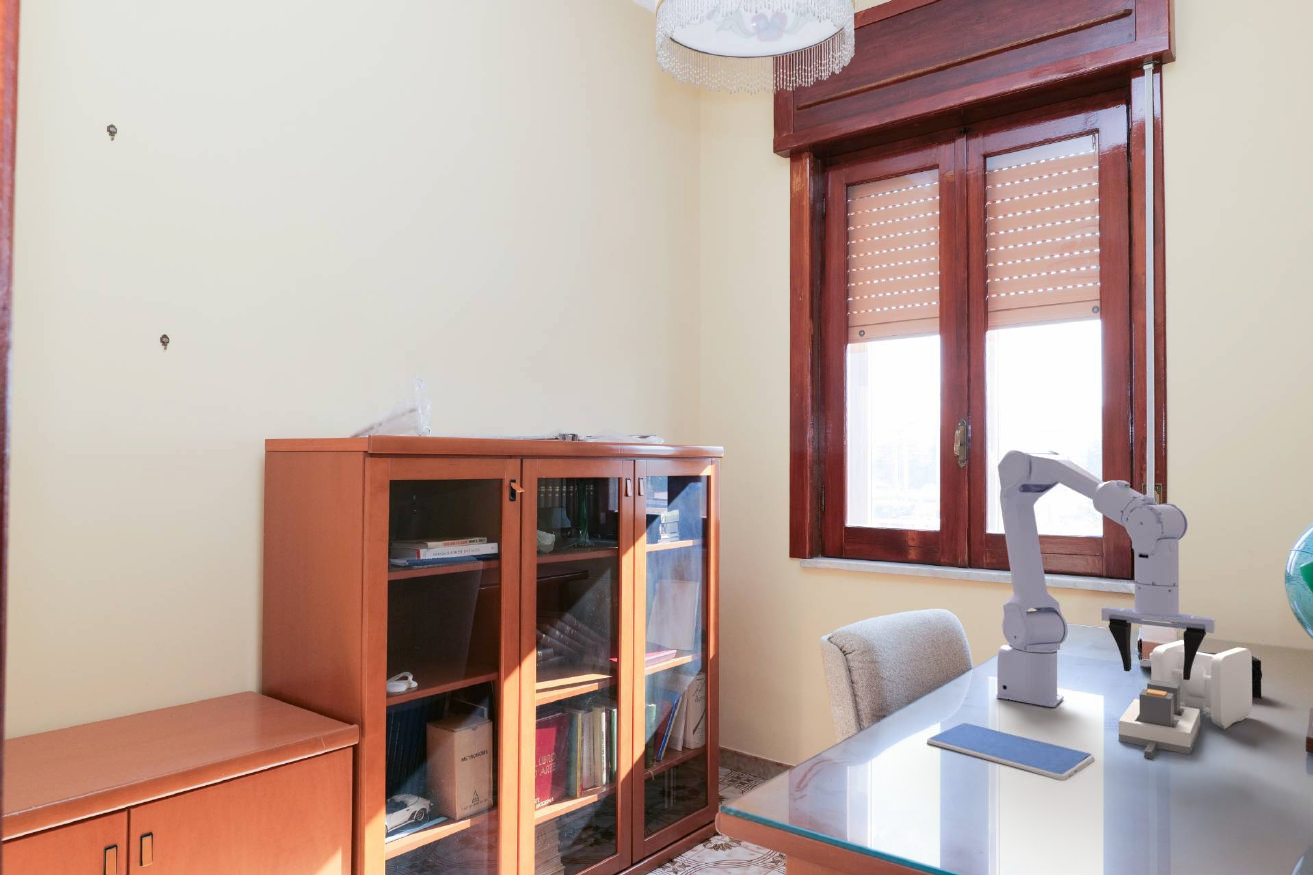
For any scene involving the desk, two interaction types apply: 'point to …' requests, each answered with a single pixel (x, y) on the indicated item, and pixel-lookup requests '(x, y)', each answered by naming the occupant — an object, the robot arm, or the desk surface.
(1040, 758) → the tablet computer
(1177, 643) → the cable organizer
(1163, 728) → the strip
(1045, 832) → the desk surface
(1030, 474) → the robot arm
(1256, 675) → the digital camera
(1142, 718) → the plug
